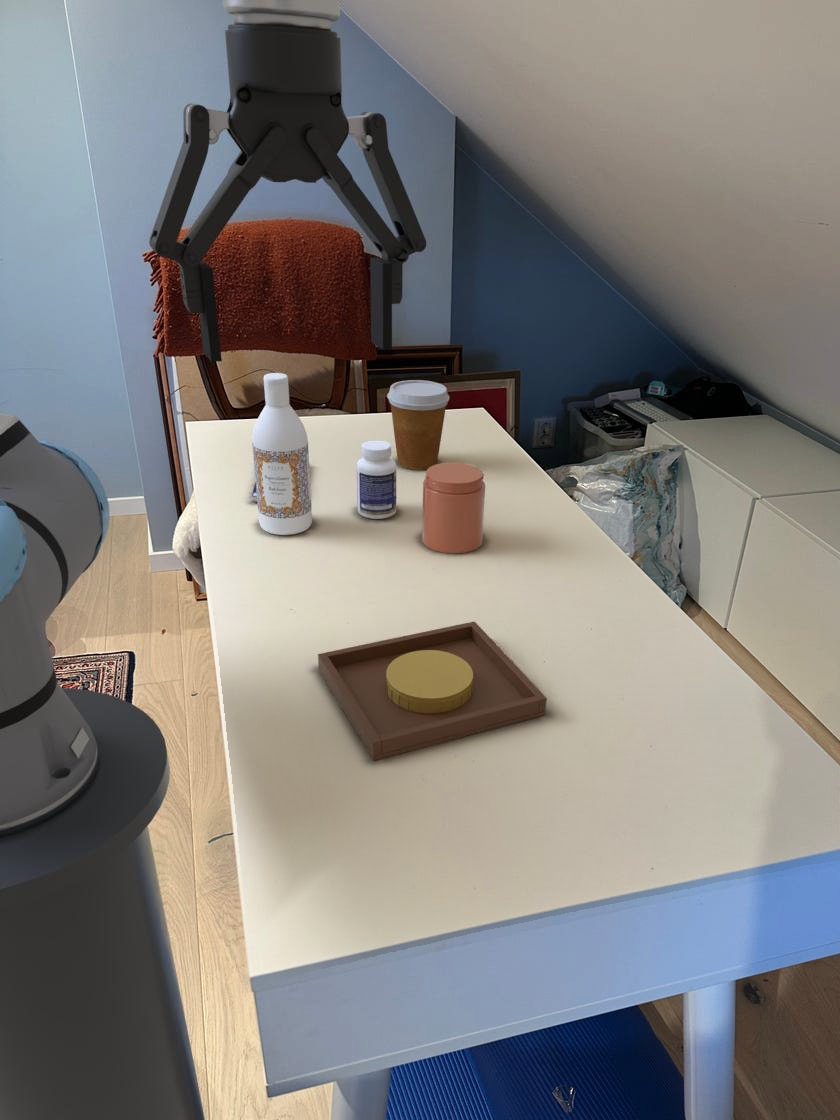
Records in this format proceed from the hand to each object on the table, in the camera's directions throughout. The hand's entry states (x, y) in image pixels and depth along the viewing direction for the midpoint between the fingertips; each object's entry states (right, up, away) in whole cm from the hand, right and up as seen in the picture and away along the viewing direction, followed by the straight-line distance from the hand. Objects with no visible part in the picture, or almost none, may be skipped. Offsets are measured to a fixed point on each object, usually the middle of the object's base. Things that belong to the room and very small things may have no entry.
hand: (300, 351), depth 70 cm
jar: (+10, -9, +48) cm, 50 cm away
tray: (+9, -28, +18) cm, 34 cm away
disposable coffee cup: (+4, +5, +72) cm, 73 cm away
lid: (+9, -26, +17) cm, 33 cm away
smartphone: (-15, +1, +62) cm, 64 cm away
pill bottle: (0, -5, +55) cm, 55 cm away
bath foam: (-12, -7, +50) cm, 52 cm away
